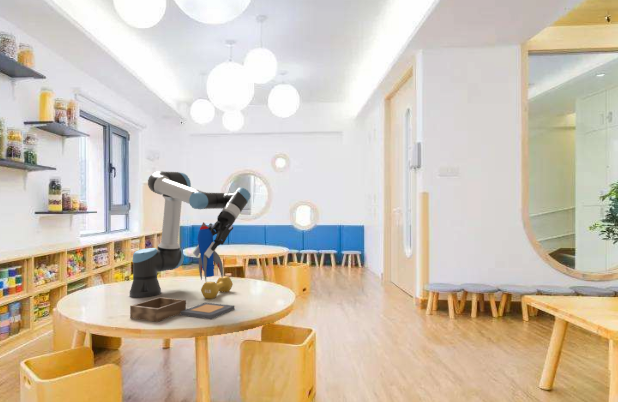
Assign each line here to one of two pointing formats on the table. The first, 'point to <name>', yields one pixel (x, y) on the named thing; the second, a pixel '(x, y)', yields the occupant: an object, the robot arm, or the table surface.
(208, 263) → the toy rocket
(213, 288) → the dumbbell
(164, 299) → the wooden tray
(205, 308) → the pad
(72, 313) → the table surface
